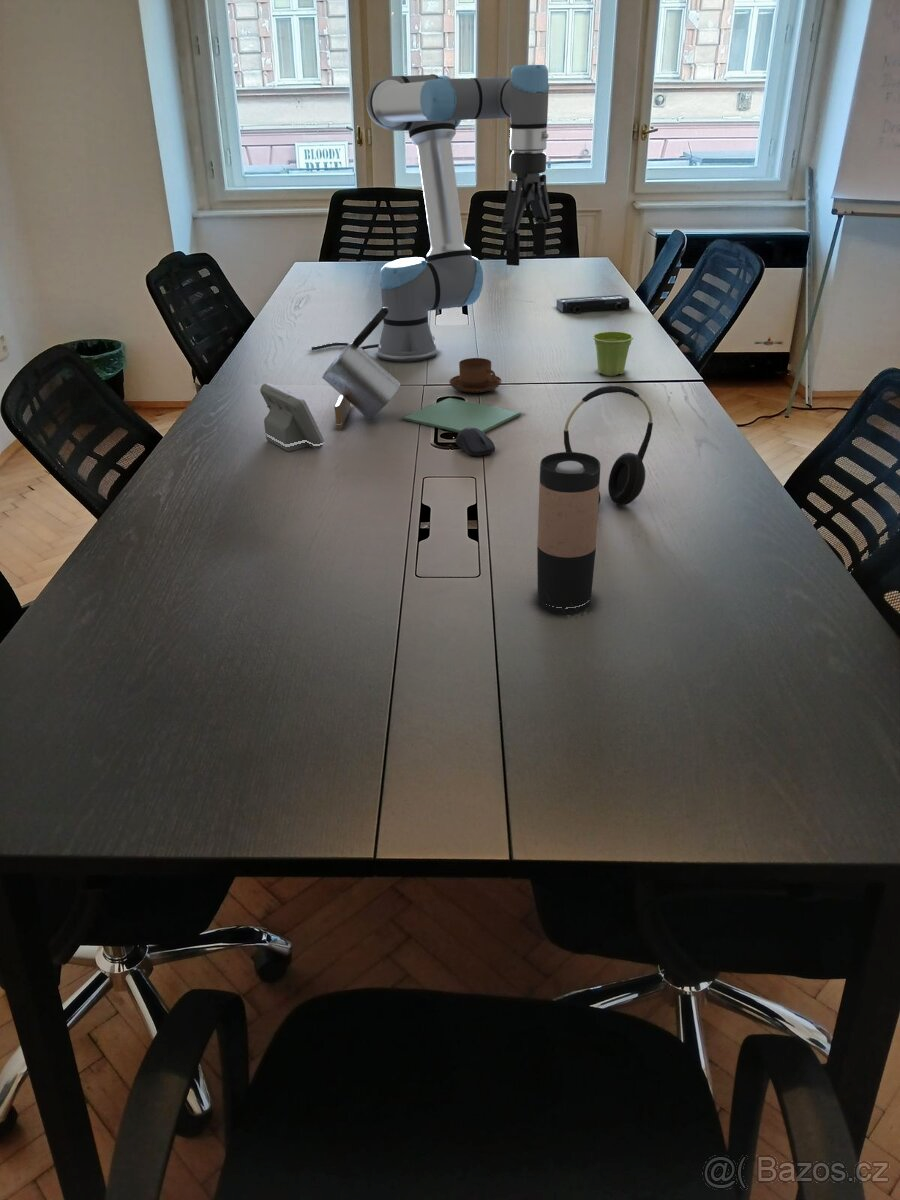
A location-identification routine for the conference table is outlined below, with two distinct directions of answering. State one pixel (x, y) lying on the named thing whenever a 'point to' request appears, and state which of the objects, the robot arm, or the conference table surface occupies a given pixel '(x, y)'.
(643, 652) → the conference table surface
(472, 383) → the cup and saucer
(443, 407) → the mat
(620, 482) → the headphones
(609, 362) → the plant pot
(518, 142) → the robot arm
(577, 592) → the travel mug
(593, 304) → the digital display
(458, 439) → the computer mouse
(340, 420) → the wooden block
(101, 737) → the conference table surface
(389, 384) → the pot
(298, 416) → the digital clock
